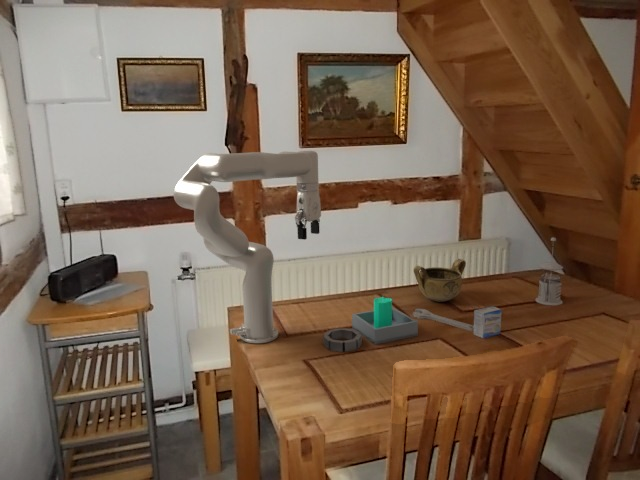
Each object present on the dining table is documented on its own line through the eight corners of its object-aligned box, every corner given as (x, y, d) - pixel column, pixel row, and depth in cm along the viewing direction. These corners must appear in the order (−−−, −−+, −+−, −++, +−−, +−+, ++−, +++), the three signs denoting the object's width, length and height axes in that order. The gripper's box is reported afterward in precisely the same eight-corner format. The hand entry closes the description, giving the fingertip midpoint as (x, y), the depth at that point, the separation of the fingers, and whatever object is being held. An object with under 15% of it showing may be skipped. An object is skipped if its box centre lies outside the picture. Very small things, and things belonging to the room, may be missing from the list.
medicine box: (482, 339, 181) (483, 313, 179) (472, 334, 185) (474, 309, 183) (500, 334, 185) (502, 309, 183) (490, 329, 188) (492, 305, 186)
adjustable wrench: (478, 331, 189) (478, 326, 189) (466, 336, 185) (466, 331, 185) (420, 311, 208) (420, 307, 207) (408, 316, 204) (408, 311, 203)
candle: (395, 330, 187) (395, 296, 184) (380, 334, 184) (380, 299, 181) (385, 324, 192) (385, 291, 189) (370, 328, 189) (370, 294, 187)
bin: (374, 344, 178) (374, 329, 177) (352, 327, 193) (351, 314, 192) (417, 335, 185) (417, 321, 183) (392, 320, 199) (392, 306, 198)
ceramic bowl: (449, 289, 232) (450, 254, 228) (476, 301, 216) (478, 264, 213) (403, 297, 223) (404, 261, 219) (428, 310, 208) (429, 271, 204)
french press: (564, 299, 217) (570, 236, 211) (559, 308, 207) (564, 242, 202) (538, 295, 222) (542, 233, 216) (531, 304, 212) (535, 239, 207)
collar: (333, 354, 172) (333, 345, 171) (318, 340, 182) (318, 332, 182) (367, 347, 176) (367, 338, 176) (350, 334, 187) (350, 326, 186)
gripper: (305, 191, 183) (306, 242, 187) (328, 184, 198) (329, 232, 202) (285, 190, 186) (287, 240, 190) (309, 184, 201) (310, 230, 205)
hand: (308, 236), depth 196 cm, fingers open, 9 cm apart
